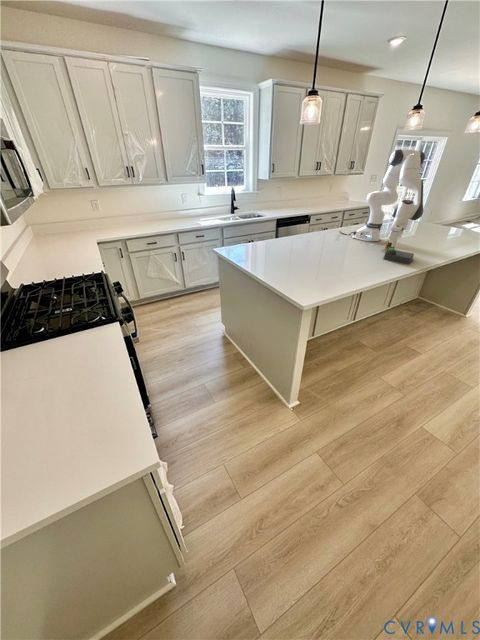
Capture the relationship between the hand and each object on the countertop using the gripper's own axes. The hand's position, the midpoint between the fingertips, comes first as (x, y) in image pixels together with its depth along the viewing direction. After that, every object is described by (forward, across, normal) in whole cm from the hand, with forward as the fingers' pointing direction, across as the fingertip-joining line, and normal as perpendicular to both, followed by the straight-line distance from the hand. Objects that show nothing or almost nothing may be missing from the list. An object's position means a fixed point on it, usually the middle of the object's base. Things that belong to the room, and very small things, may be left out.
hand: (392, 246), depth 182 cm
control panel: (+9, -3, +5) cm, 11 cm away
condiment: (+9, -18, -5) cm, 21 cm away
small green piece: (+3, 0, 0) cm, 3 cm away
